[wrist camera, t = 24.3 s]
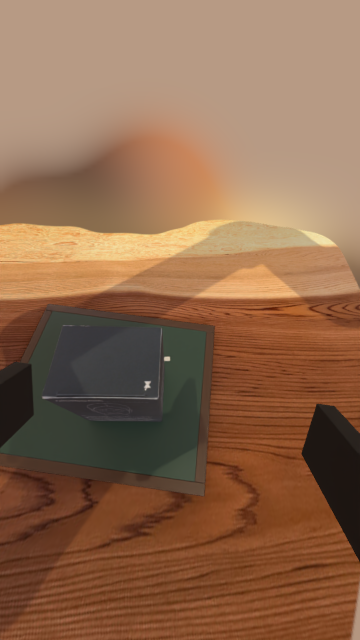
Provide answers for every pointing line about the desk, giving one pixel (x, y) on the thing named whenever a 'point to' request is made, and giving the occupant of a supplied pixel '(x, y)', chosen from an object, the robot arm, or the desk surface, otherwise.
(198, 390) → the chalkboard
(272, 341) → the desk surface
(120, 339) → the box
